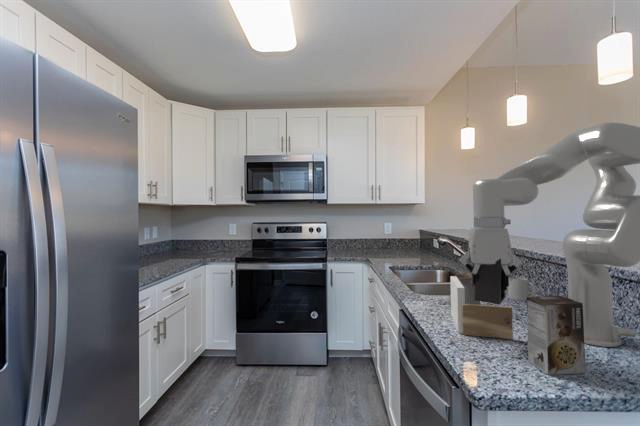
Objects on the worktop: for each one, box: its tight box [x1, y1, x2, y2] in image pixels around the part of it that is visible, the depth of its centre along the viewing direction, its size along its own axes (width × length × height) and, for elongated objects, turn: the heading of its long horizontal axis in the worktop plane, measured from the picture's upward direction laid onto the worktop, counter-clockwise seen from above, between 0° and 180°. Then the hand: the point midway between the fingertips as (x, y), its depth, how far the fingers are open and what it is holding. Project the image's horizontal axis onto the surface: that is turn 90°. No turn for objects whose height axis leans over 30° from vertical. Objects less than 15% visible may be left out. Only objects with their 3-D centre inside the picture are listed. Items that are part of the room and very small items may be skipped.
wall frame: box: [449, 275, 465, 335], centre depth 99 cm, size 2×18×14 cm, turn 162°
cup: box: [507, 276, 537, 302], centre depth 126 cm, size 7×10×9 cm
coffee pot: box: [447, 274, 512, 307], centre depth 110 cm, size 21×12×15 cm, turn 52°
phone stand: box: [474, 259, 507, 305], centre depth 82 cm, size 9×6×12 cm, turn 138°
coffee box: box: [526, 295, 587, 376], centre depth 70 cm, size 9×6×16 cm
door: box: [462, 304, 514, 340], centre depth 87 cm, size 2×13×9 cm, turn 73°
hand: (490, 287), depth 82 cm, fingers closed on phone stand, 6 cm apart
